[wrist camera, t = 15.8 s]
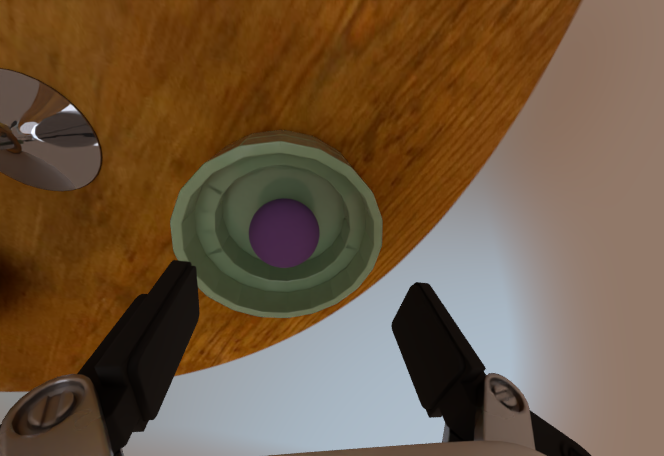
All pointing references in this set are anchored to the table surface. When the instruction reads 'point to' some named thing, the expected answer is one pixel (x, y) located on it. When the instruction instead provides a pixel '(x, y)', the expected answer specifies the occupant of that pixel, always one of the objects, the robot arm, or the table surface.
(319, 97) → the table surface
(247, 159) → the green bowl
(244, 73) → the table surface
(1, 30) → the table surface
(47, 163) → the silver goblet
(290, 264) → the purple ball
